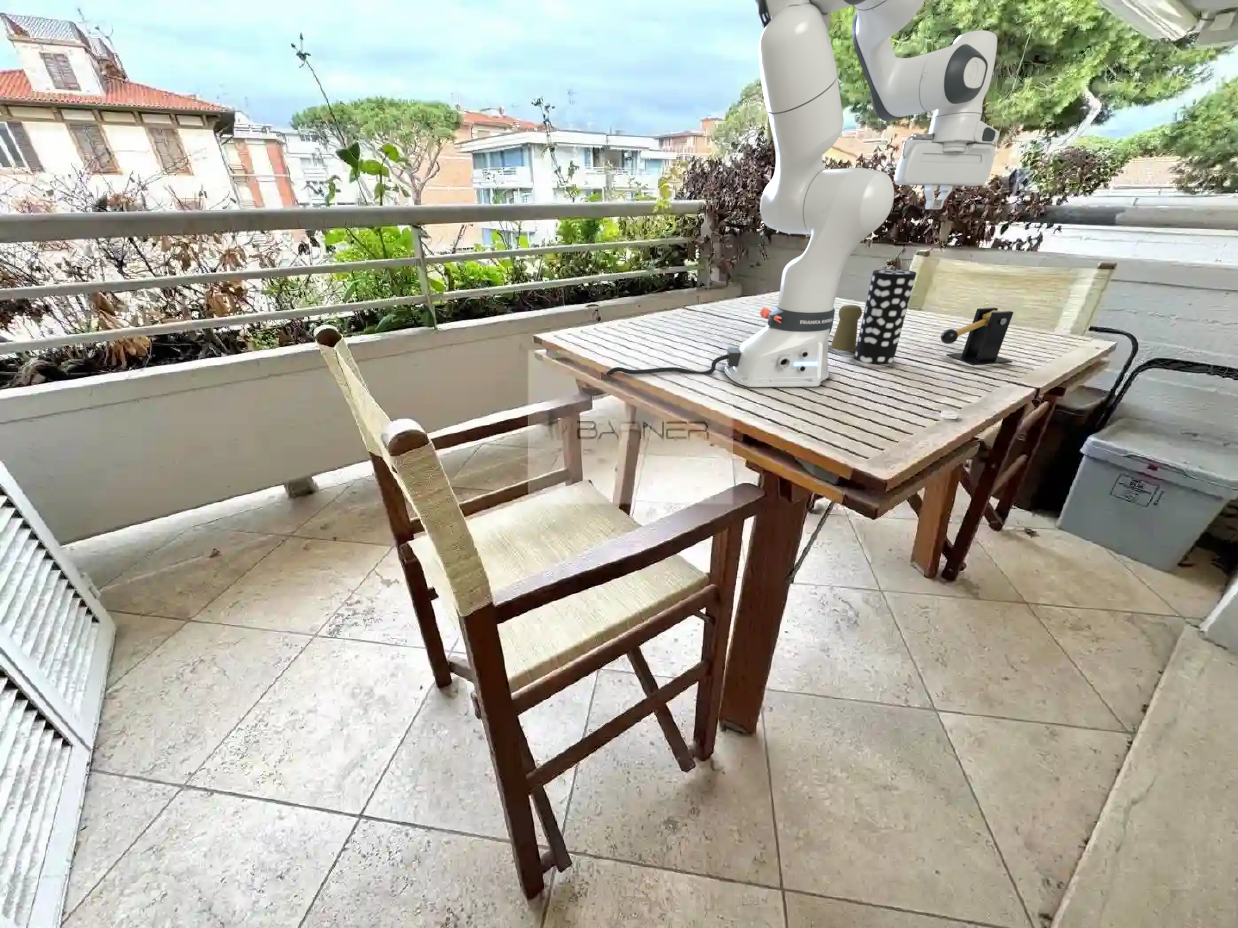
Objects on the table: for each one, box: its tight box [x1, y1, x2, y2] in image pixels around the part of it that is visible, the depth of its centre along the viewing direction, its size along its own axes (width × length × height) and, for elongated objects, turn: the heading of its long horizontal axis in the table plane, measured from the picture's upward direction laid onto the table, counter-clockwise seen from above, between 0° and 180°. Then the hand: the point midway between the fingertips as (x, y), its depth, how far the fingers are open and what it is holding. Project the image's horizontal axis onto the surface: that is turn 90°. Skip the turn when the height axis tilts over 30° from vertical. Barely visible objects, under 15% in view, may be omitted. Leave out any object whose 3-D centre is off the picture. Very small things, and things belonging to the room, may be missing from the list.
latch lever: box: [940, 310, 1001, 345], centre depth 107 cm, size 13×3×3 cm, turn 99°
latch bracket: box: [945, 307, 1014, 366], centre depth 109 cm, size 10×8×12 cm
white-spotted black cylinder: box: [853, 268, 917, 365], centre depth 108 cm, size 8×8×20 cm
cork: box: [830, 304, 863, 351], centre depth 120 cm, size 6×6×11 cm
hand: (933, 209), depth 107 cm, fingers closed
